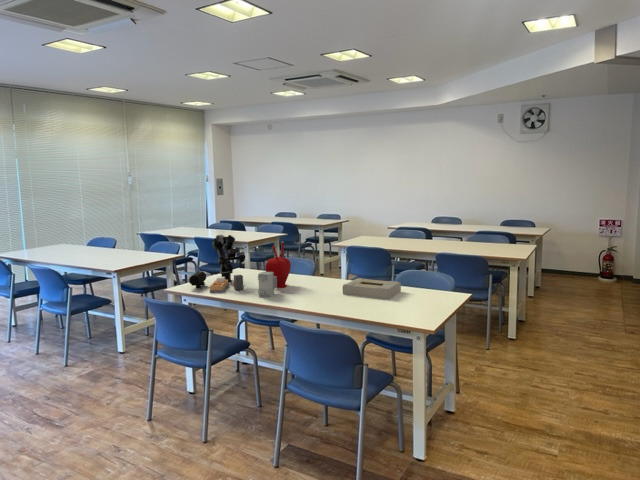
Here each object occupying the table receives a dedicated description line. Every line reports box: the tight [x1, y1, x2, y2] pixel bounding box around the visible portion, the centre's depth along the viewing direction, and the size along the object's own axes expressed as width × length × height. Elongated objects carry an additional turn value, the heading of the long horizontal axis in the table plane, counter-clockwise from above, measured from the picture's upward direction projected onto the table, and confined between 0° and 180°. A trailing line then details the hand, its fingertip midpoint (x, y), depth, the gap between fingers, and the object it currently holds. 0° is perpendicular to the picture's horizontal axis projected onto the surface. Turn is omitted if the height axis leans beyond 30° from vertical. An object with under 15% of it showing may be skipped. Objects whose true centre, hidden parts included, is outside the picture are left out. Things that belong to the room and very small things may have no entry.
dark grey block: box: [233, 274, 244, 292], centre depth 319 cm, size 5×5×10 cm
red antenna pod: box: [264, 242, 292, 289], centre depth 326 cm, size 21×13×30 cm, turn 160°
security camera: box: [188, 271, 207, 289], centre depth 330 cm, size 7×18×10 cm, turn 174°
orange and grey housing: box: [209, 276, 230, 294], centre depth 323 cm, size 21×9×7 cm, turn 0°
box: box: [342, 277, 402, 301], centre depth 304 cm, size 23×8×32 cm
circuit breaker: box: [257, 271, 278, 298], centre depth 304 cm, size 8×14×15 cm, turn 161°
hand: (234, 268), depth 325 cm, fingers open, 9 cm apart
